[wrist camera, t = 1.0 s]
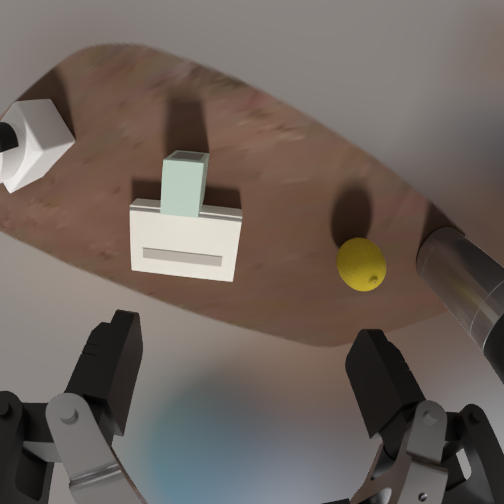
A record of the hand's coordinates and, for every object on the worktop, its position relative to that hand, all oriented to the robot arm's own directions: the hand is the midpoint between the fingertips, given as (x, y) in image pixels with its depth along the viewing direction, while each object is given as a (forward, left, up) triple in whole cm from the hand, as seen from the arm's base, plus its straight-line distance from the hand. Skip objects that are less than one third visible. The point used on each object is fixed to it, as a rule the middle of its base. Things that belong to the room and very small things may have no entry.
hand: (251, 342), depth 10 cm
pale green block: (+5, 0, -23) cm, 24 cm away
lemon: (-15, +6, -23) cm, 28 cm away
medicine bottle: (+24, -4, -23) cm, 34 cm away
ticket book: (+5, +7, -23) cm, 25 cm away
